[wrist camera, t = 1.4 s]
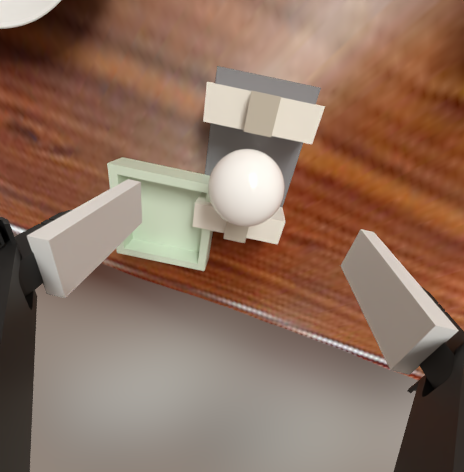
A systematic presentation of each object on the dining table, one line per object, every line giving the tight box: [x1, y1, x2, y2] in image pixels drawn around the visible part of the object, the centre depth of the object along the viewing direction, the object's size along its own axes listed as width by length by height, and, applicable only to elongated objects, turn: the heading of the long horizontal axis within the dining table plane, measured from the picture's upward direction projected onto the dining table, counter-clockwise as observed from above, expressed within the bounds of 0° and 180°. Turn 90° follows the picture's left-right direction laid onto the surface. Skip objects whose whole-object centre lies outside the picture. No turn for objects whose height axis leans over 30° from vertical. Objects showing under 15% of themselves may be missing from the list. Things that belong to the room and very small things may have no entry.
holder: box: [193, 66, 325, 244], centre depth 24 cm, size 10×17×6 cm, turn 170°
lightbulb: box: [208, 149, 285, 227], centre depth 21 cm, size 6×6×11 cm
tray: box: [107, 157, 213, 271], centre depth 29 cm, size 12×12×3 cm
